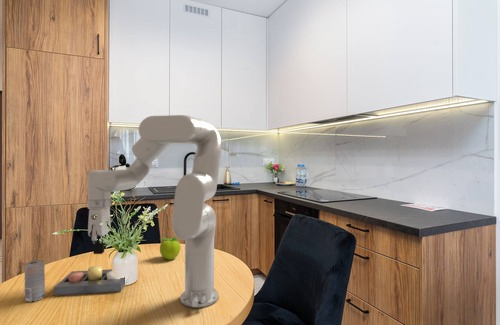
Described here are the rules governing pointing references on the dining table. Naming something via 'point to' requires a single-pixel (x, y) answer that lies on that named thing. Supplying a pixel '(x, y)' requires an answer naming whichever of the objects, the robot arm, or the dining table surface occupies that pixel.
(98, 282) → the grey compartment tray
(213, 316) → the dining table surface
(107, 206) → the robot arm
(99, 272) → the mustard button
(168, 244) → the fruit
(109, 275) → the ivory button
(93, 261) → the dining table surface
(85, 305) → the dining table surface
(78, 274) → the brick button
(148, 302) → the dining table surface
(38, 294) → the energy drink
